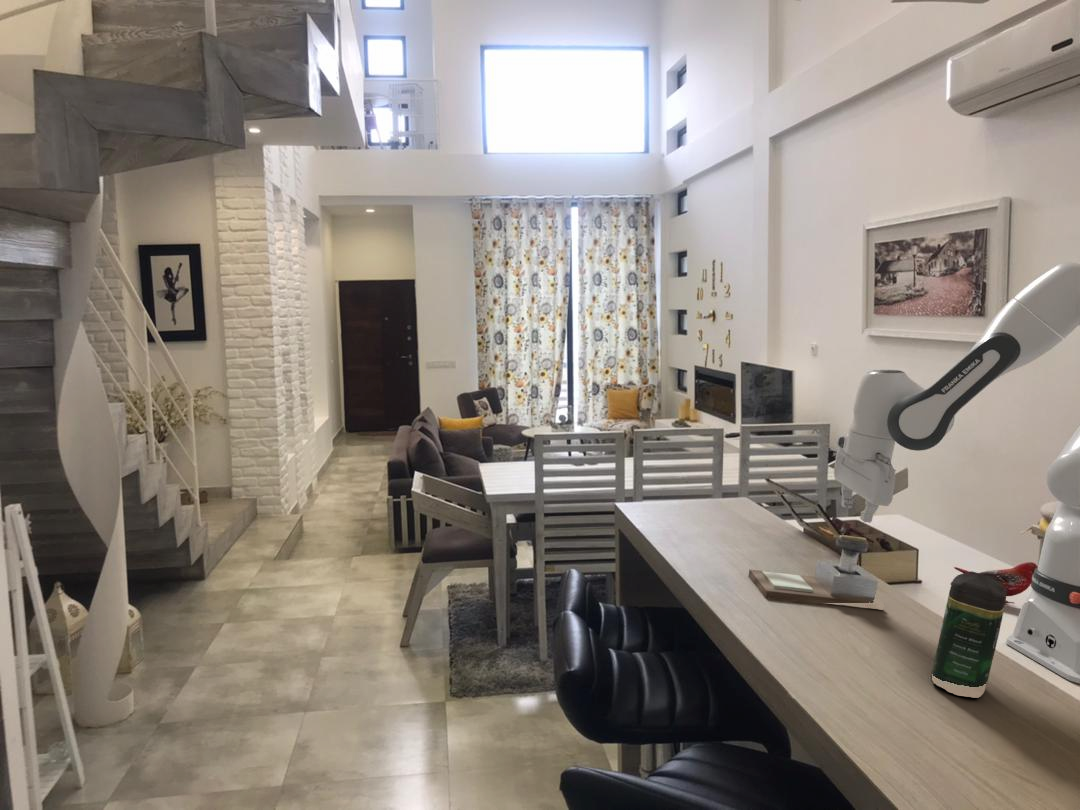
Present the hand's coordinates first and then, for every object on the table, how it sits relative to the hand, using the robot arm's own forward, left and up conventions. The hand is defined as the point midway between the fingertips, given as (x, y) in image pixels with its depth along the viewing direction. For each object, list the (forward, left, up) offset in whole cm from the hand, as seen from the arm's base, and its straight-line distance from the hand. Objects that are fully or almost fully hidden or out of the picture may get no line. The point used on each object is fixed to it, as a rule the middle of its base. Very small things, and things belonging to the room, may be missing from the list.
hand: (855, 514), depth 164 cm
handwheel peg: (0, 0, -16) cm, 16 cm away
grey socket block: (0, 0, -16) cm, 16 cm away
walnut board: (0, +6, -18) cm, 18 cm away
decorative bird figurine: (+7, -36, -18) cm, 41 cm away
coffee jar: (-37, -4, -18) cm, 41 cm away
